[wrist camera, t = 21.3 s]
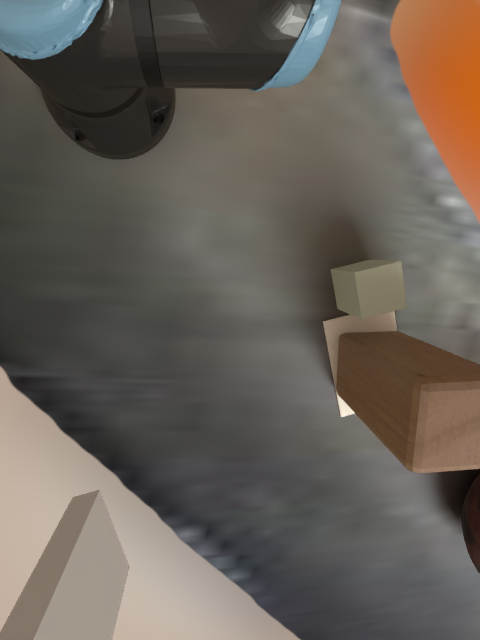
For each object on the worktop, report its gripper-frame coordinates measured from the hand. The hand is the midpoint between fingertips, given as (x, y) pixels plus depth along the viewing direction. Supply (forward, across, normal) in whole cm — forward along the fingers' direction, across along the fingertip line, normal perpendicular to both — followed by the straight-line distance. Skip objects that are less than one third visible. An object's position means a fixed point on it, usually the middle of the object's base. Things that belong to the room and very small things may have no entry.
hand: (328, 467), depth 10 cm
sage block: (+39, +18, -3) cm, 43 cm away
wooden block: (+39, +18, -15) cm, 45 cm away
